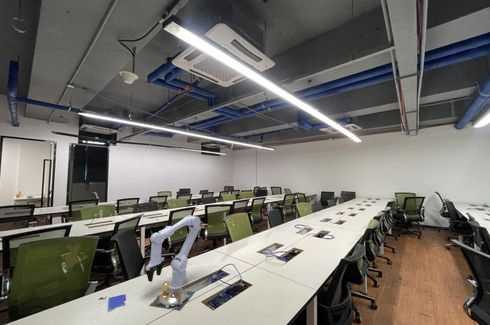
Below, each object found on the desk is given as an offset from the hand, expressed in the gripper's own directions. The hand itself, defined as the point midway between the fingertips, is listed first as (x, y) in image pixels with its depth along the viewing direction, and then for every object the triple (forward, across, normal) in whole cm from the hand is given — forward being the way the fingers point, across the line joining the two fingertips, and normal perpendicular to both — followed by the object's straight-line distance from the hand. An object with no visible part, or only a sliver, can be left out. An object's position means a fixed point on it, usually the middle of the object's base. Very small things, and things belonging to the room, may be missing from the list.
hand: (154, 278), depth 117 cm
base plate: (+9, +2, +14) cm, 17 cm away
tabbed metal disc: (+8, +2, +14) cm, 16 cm away
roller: (+7, +2, +9) cm, 11 cm away
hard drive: (+10, +11, -14) cm, 21 cm away
